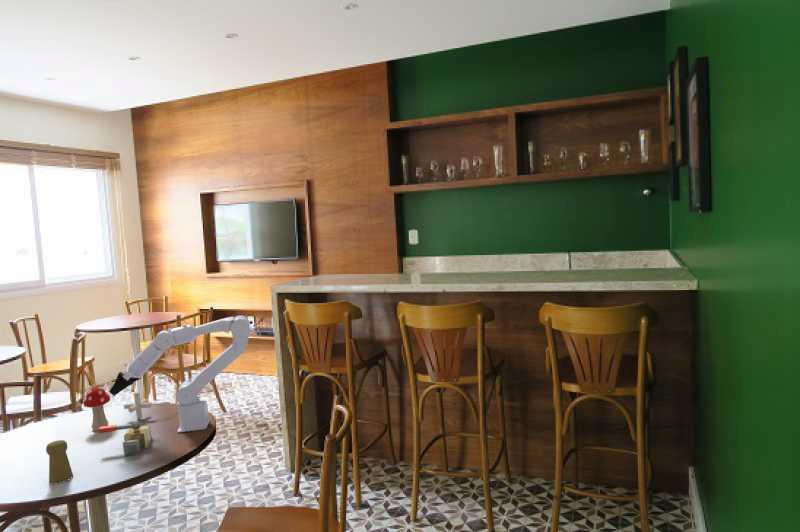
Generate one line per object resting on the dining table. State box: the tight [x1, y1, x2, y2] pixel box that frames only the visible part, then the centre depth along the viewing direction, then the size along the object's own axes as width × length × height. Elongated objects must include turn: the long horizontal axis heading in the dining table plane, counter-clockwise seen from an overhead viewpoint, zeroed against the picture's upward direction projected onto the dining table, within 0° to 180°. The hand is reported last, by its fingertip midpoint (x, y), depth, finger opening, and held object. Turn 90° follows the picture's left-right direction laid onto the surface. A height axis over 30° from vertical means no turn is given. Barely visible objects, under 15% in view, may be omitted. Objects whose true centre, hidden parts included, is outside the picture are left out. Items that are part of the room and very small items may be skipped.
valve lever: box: [97, 421, 142, 434], centre depth 182 cm, size 12×3×1 cm, turn 99°
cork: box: [45, 439, 74, 484], centre depth 162 cm, size 6×6×11 cm
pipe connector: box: [123, 391, 153, 420], centre depth 211 cm, size 10×10×10 cm
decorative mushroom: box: [83, 386, 111, 432], centre depth 204 cm, size 10×9×15 cm
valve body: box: [122, 424, 153, 457], centre depth 183 cm, size 6×14×6 cm, turn 9°
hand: (115, 391), depth 190 cm, fingers open, 7 cm apart
